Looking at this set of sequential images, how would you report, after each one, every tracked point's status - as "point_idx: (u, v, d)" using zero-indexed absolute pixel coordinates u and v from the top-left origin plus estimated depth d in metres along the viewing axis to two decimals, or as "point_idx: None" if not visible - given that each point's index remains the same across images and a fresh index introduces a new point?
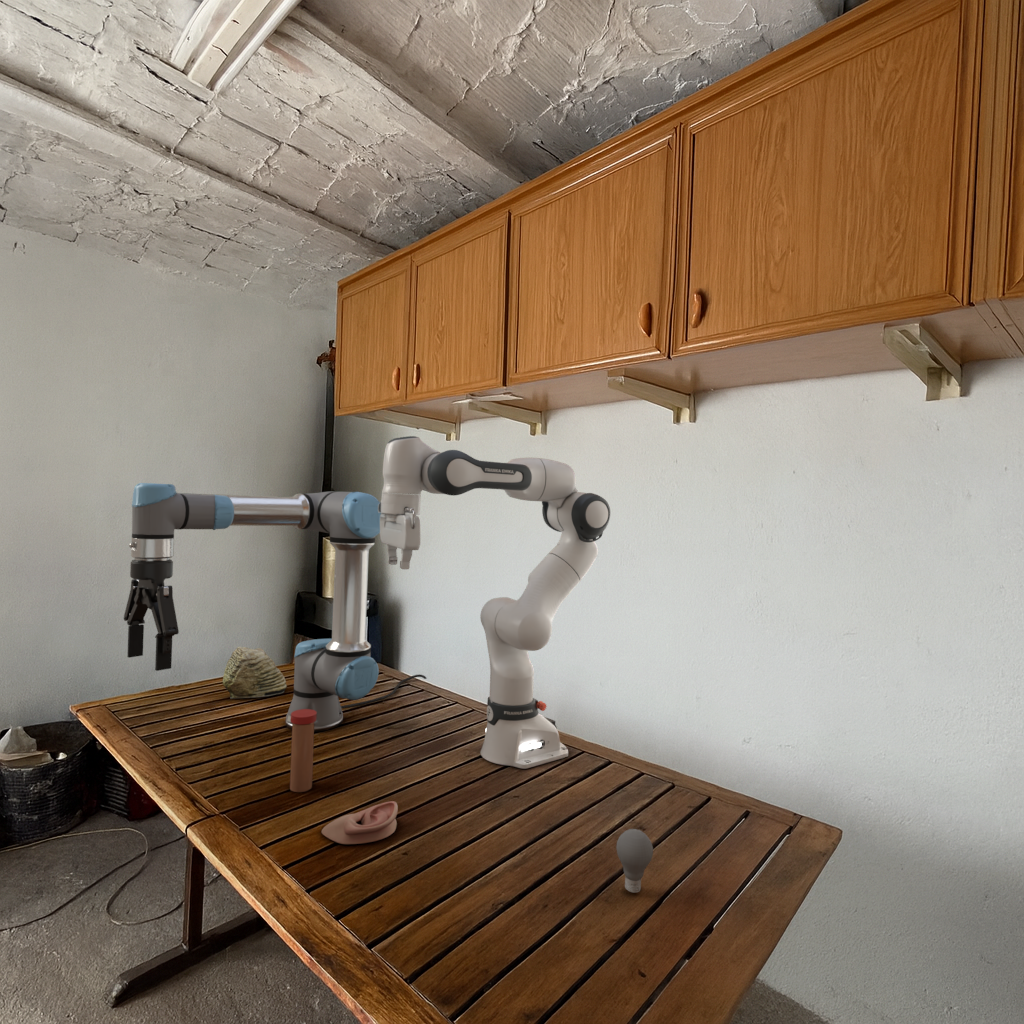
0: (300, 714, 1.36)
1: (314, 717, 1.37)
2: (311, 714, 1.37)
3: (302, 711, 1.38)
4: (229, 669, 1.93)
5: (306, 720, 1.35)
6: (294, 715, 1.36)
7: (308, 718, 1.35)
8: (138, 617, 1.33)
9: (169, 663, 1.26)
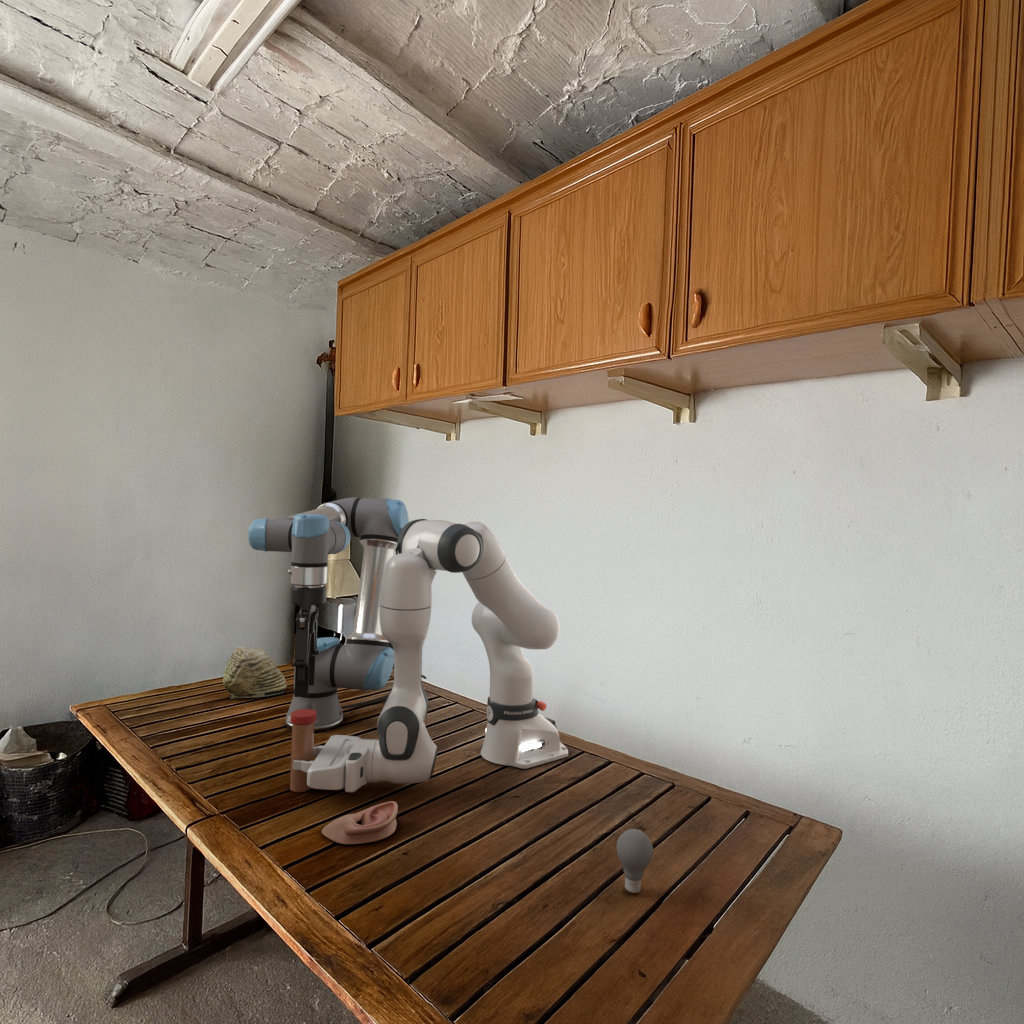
0: (300, 714, 1.36)
1: (314, 717, 1.37)
2: (311, 714, 1.37)
3: (302, 711, 1.38)
4: (229, 669, 1.93)
5: (306, 720, 1.35)
6: (295, 715, 1.36)
7: (308, 718, 1.35)
8: None
9: (306, 692, 1.33)
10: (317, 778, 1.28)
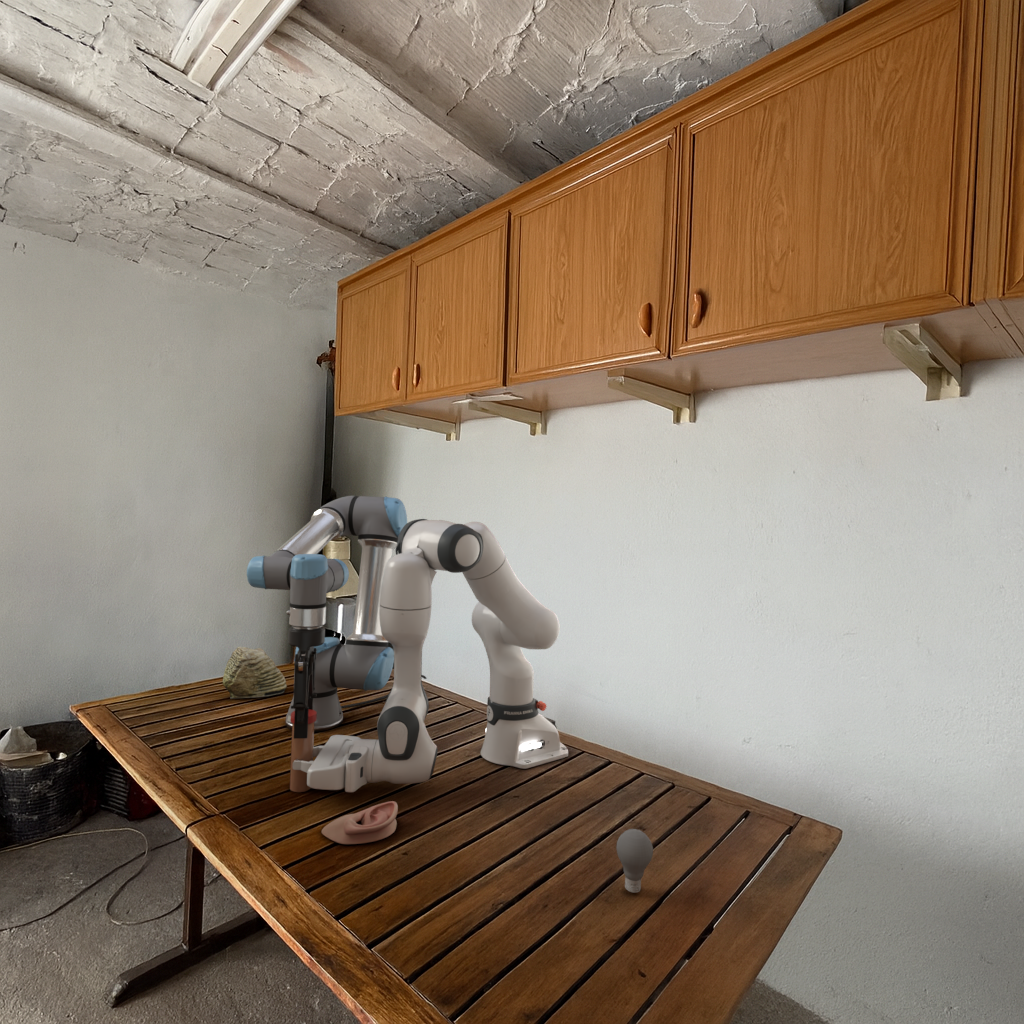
0: None
1: (314, 717, 1.37)
2: (311, 714, 1.37)
3: None
4: (229, 669, 1.93)
5: None
6: None
7: (308, 718, 1.35)
8: None
9: (305, 733, 1.34)
10: (317, 778, 1.28)
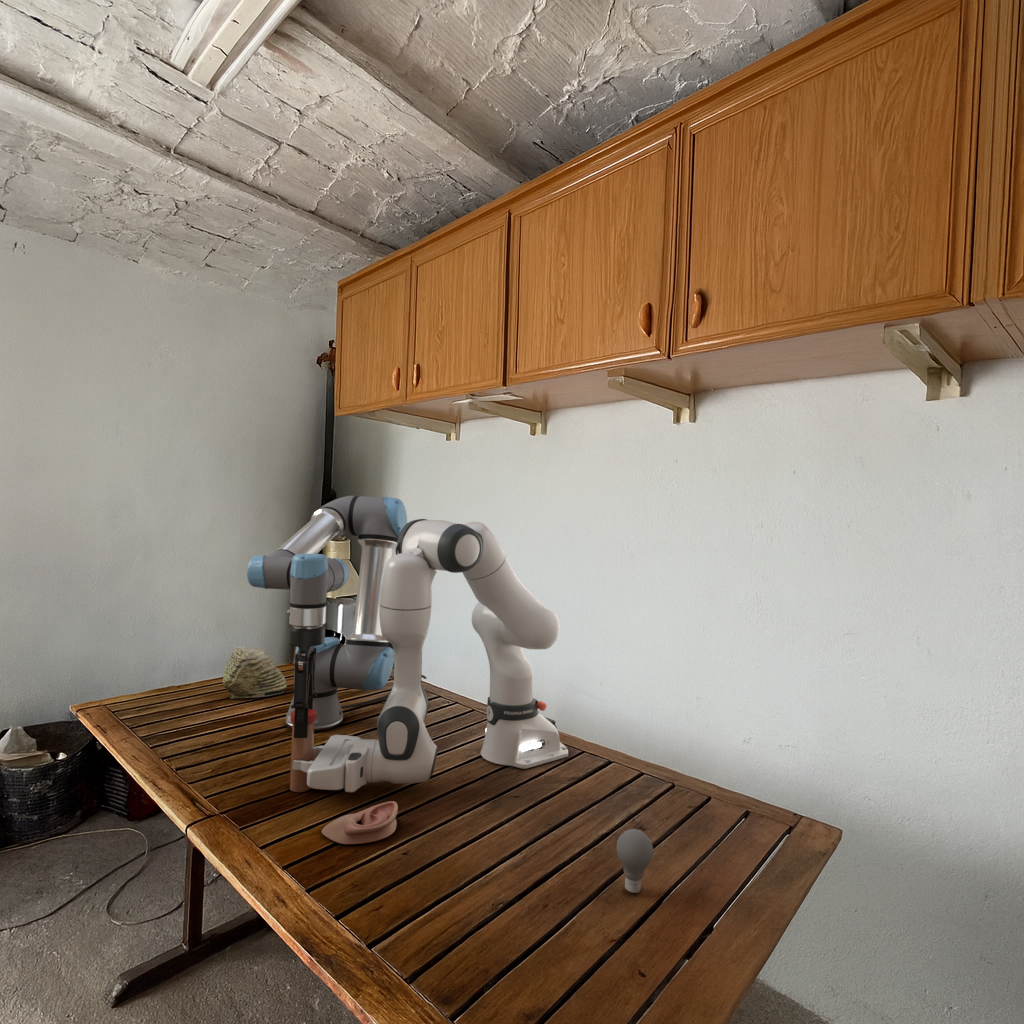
0: None
1: None
2: (310, 710, 1.39)
3: None
4: (229, 669, 1.93)
5: None
6: None
7: (315, 712, 1.39)
8: None
9: (305, 733, 1.34)
10: (317, 778, 1.28)
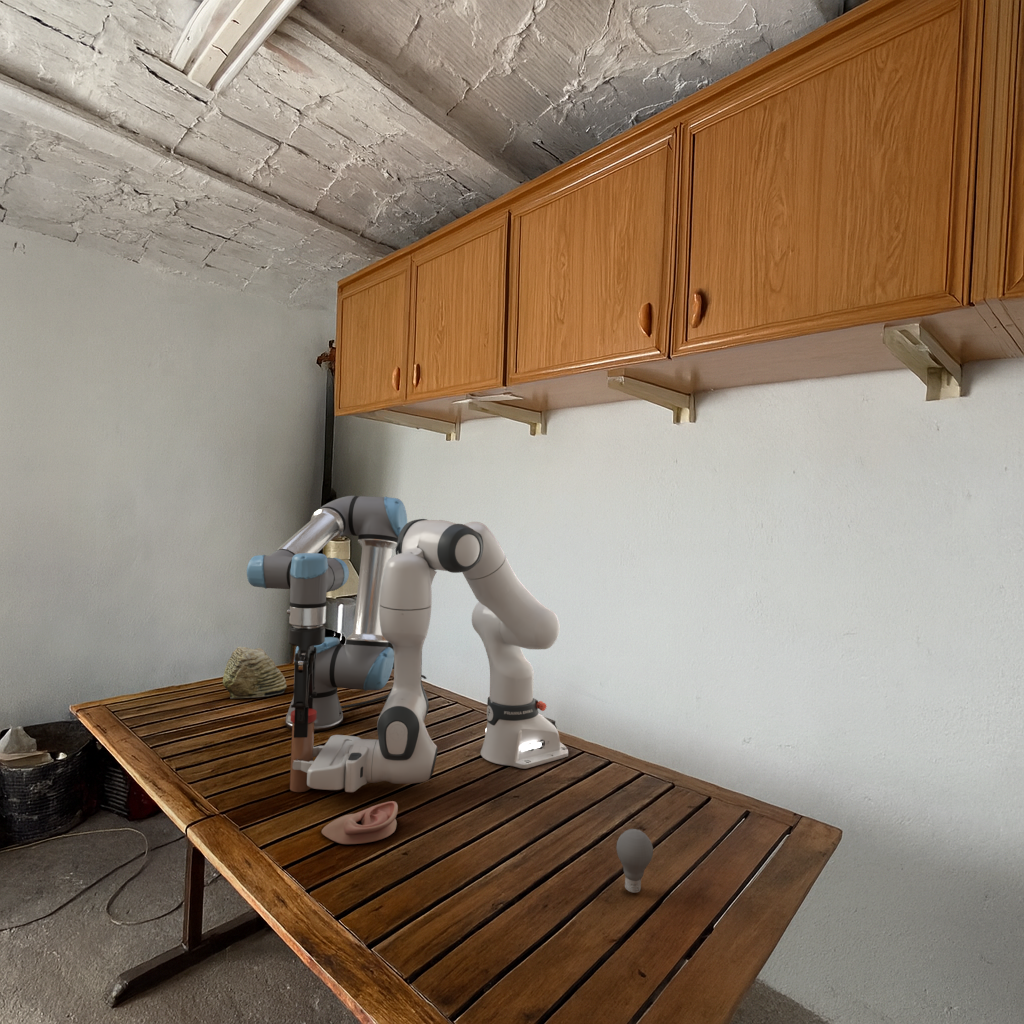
0: None
1: None
2: None
3: None
4: (229, 669, 1.93)
5: None
6: (313, 710, 1.38)
7: None
8: None
9: (305, 732, 1.34)
10: (317, 778, 1.28)
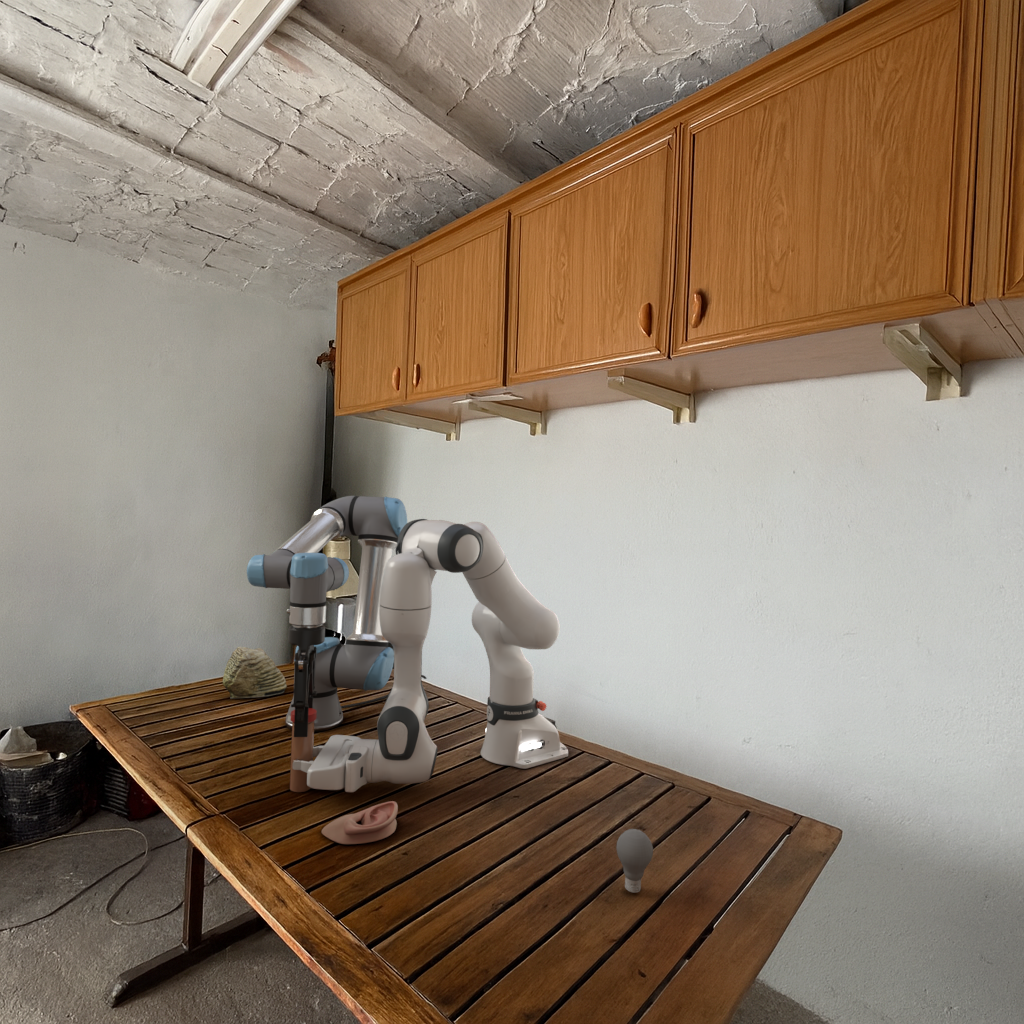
0: None
1: (293, 717, 1.35)
2: None
3: (309, 711, 1.38)
4: (229, 669, 1.93)
5: None
6: None
7: (291, 714, 1.37)
8: None
9: (305, 732, 1.34)
10: (317, 778, 1.28)
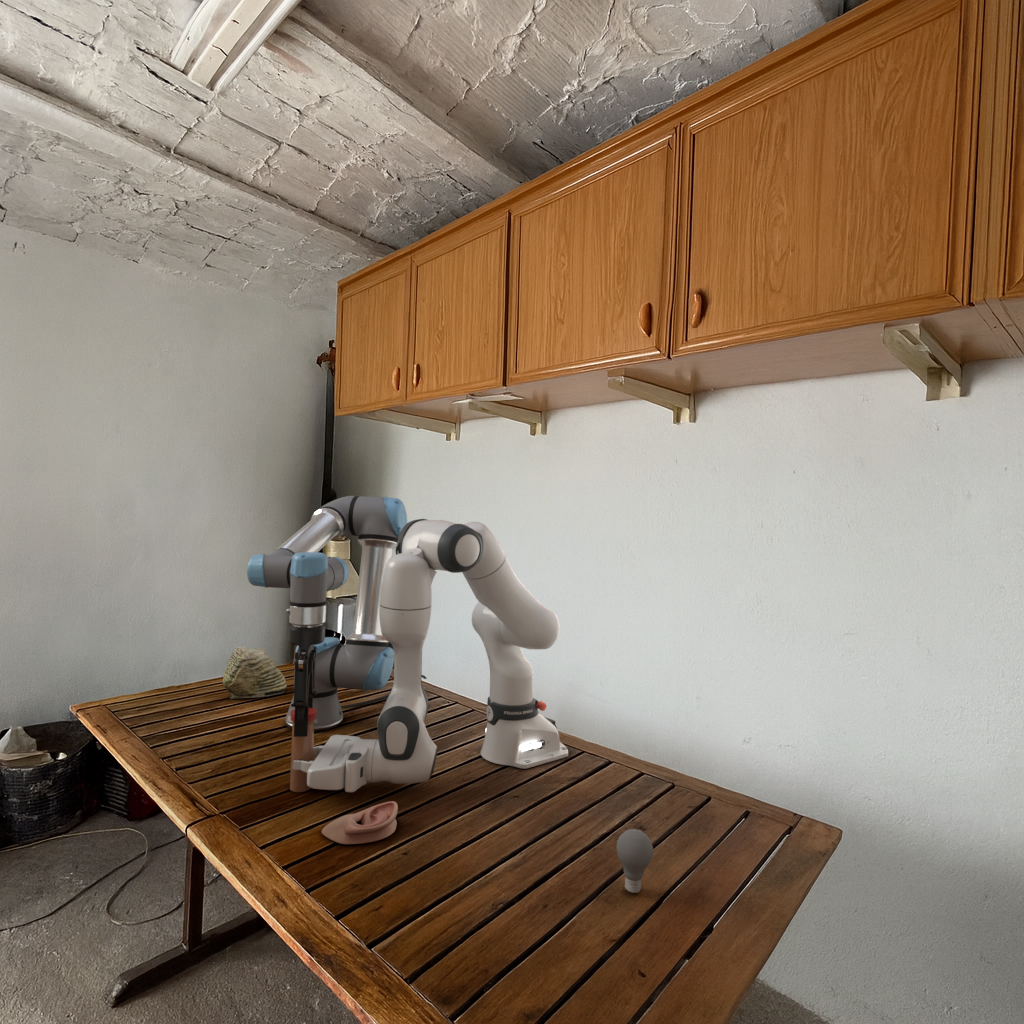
0: None
1: (309, 717, 1.35)
2: None
3: None
4: (229, 669, 1.93)
5: None
6: (293, 711, 1.37)
7: None
8: None
9: (305, 731, 1.34)
10: (317, 778, 1.28)
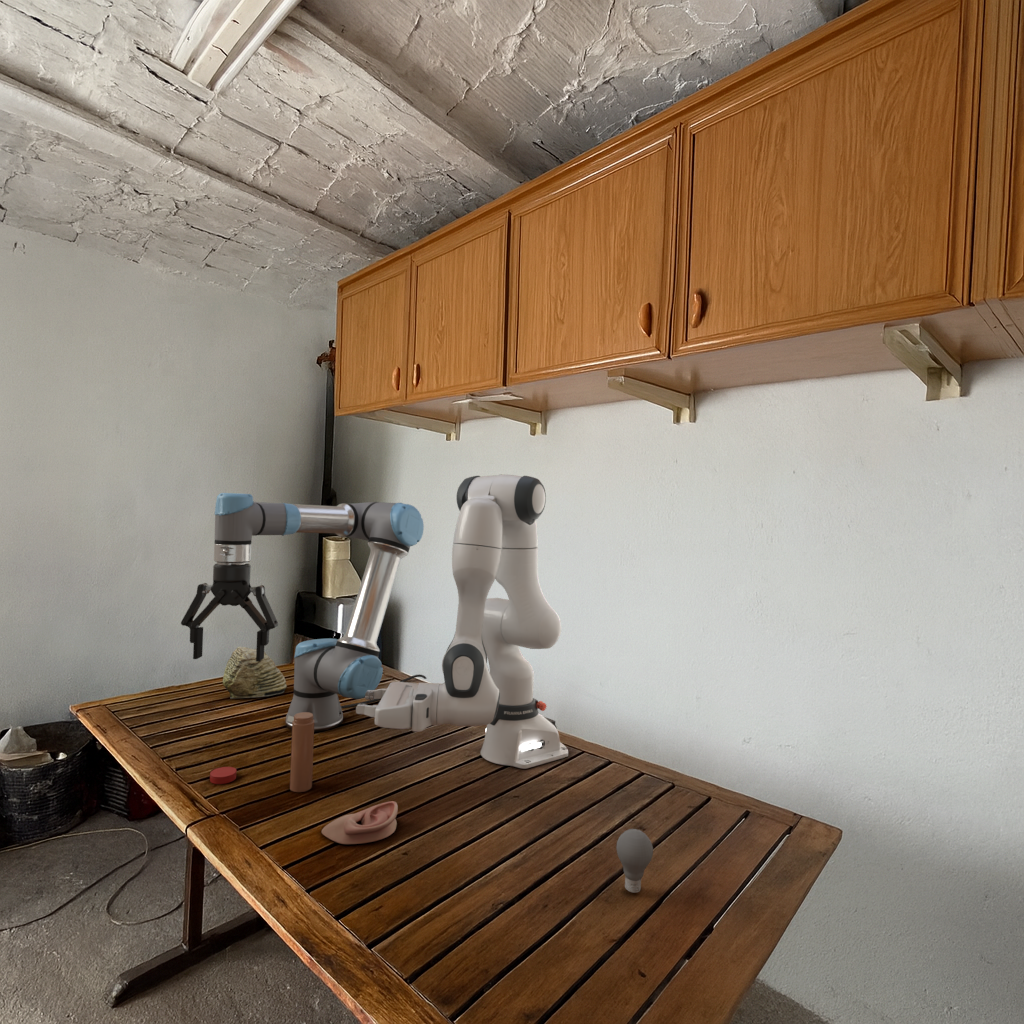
0: (223, 773, 1.39)
1: None
2: (233, 769, 1.41)
3: (218, 771, 1.40)
4: (229, 669, 1.93)
5: (234, 776, 1.40)
6: (220, 775, 1.38)
7: (235, 773, 1.40)
8: (203, 620, 1.40)
9: (263, 654, 1.41)
10: (385, 717, 1.28)
